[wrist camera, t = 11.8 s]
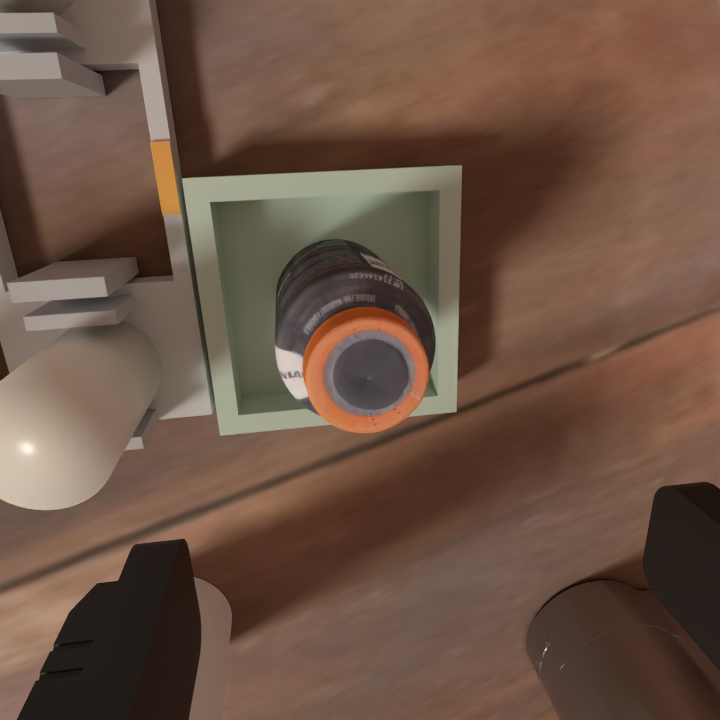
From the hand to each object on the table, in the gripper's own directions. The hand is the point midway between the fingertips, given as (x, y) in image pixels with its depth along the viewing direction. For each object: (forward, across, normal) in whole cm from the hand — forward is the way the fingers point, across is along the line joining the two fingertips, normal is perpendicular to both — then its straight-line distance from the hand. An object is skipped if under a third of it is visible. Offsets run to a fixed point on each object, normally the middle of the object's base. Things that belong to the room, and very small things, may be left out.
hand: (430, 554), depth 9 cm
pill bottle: (+20, 0, 0) cm, 20 cm away
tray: (+20, 0, 0) cm, 20 cm away
